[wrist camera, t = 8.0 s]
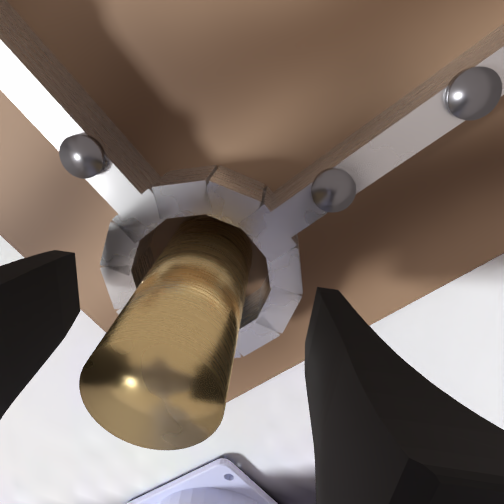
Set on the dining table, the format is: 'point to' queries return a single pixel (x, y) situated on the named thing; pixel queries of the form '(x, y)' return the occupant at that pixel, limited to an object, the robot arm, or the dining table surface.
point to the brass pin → (173, 341)
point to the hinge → (226, 180)
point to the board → (267, 139)
